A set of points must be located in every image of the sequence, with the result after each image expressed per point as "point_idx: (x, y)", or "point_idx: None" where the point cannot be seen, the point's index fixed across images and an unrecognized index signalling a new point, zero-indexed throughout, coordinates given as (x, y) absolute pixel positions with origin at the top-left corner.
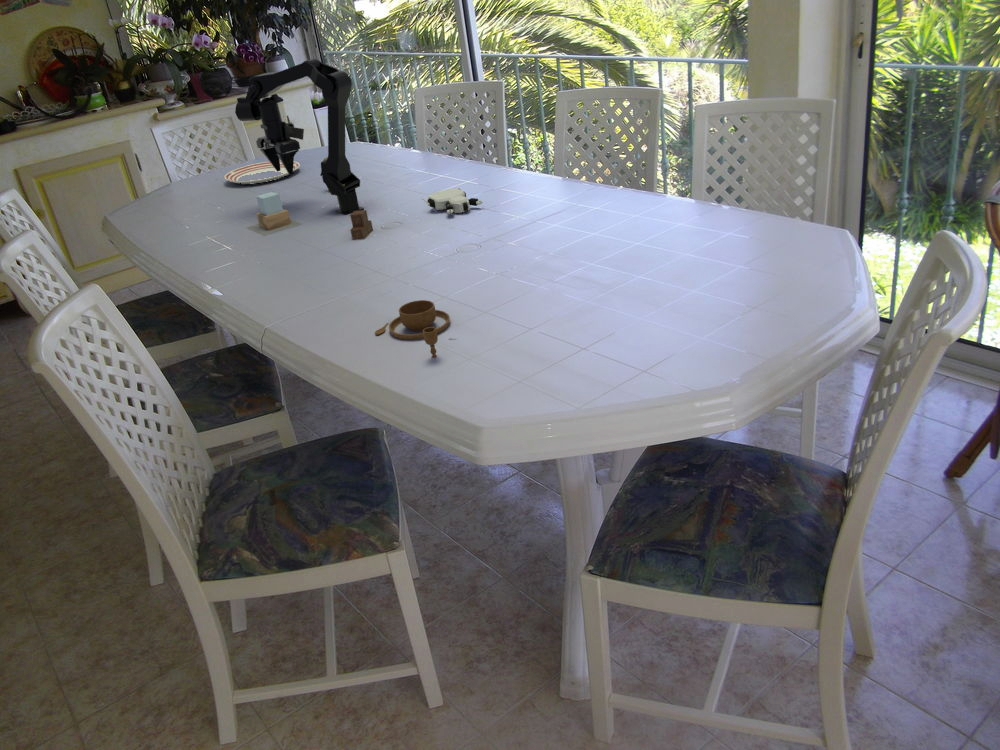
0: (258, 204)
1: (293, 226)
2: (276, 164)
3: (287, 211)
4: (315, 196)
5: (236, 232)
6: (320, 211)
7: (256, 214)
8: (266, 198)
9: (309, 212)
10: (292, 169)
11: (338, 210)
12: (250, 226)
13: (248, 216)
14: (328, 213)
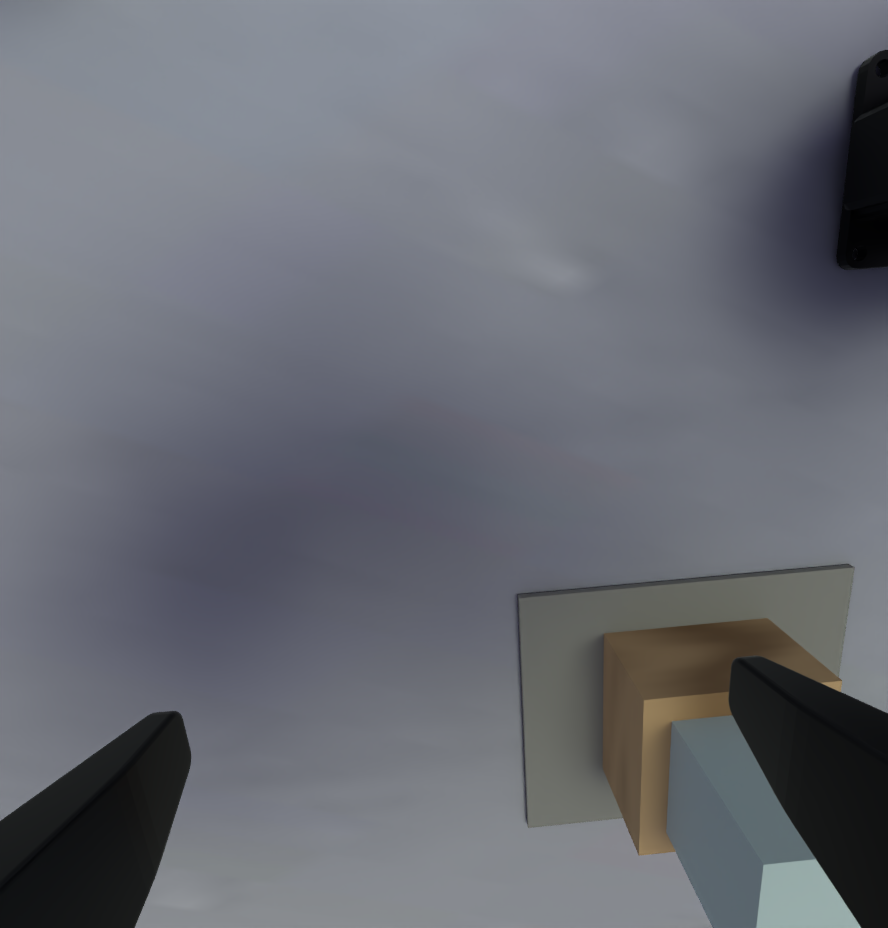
0: (704, 906)
1: (838, 627)
2: (113, 876)
3: (836, 682)
4: (74, 148)
5: (546, 871)
6: (654, 340)
7: (636, 847)
8: None
9: (587, 413)
10: (847, 708)
11: (868, 245)
12: (533, 804)
13: (227, 746)
14: (780, 320)
